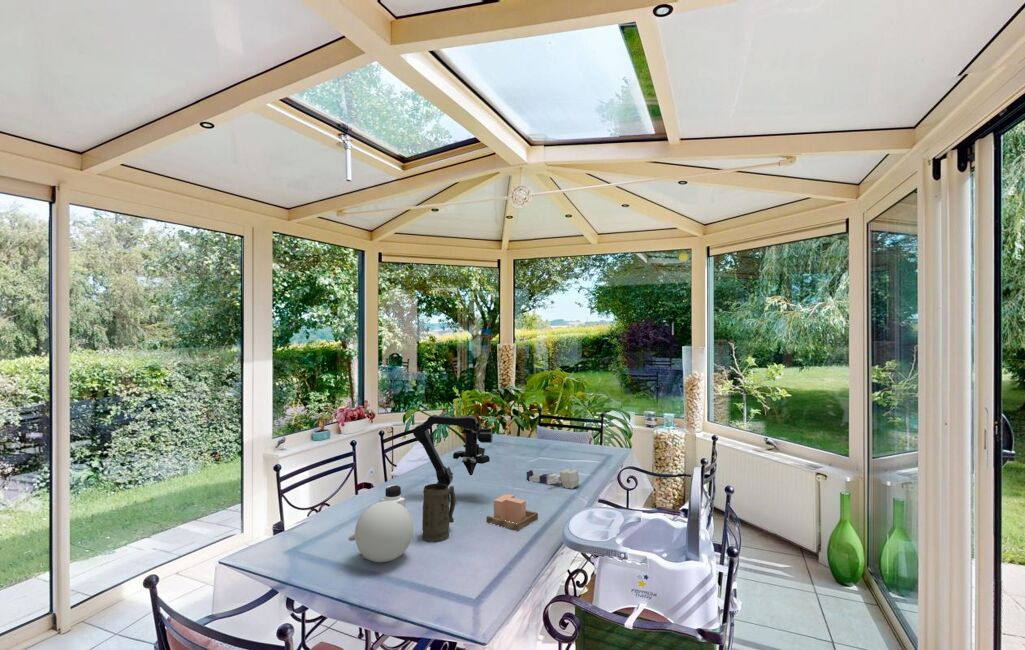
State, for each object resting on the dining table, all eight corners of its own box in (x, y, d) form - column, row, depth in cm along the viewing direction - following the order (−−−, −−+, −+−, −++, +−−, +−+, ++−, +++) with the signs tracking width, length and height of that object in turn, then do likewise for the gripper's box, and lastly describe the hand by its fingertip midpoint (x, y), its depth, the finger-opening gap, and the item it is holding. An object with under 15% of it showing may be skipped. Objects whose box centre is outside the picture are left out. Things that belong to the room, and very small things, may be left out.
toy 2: (390, 542, 177) (391, 490, 178) (423, 557, 165) (424, 501, 166) (344, 561, 162) (344, 504, 163) (376, 579, 150) (377, 517, 151)
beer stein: (435, 545, 175) (438, 491, 177) (414, 538, 181) (417, 486, 182) (460, 533, 188) (463, 483, 190) (440, 528, 194) (443, 479, 195)
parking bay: (486, 522, 197) (486, 516, 197) (507, 511, 210) (507, 505, 210) (517, 531, 188) (517, 525, 188) (537, 518, 201) (537, 513, 201)
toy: (536, 465, 268) (584, 466, 252) (538, 481, 267) (586, 483, 251) (518, 474, 250) (568, 475, 235) (520, 491, 249) (570, 493, 234)
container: (405, 516, 204) (405, 486, 205) (390, 521, 199) (390, 490, 199) (395, 511, 209) (395, 482, 210) (380, 516, 204) (380, 486, 204)
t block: (493, 521, 199) (493, 500, 199) (507, 514, 207) (507, 493, 207) (516, 527, 192) (517, 505, 192) (529, 519, 200) (529, 498, 201)
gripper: (496, 441, 224) (496, 474, 223) (467, 437, 234) (467, 468, 234) (482, 446, 215) (482, 480, 214) (452, 441, 225) (452, 473, 225)
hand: (471, 475), depth 222 cm, fingers closed
